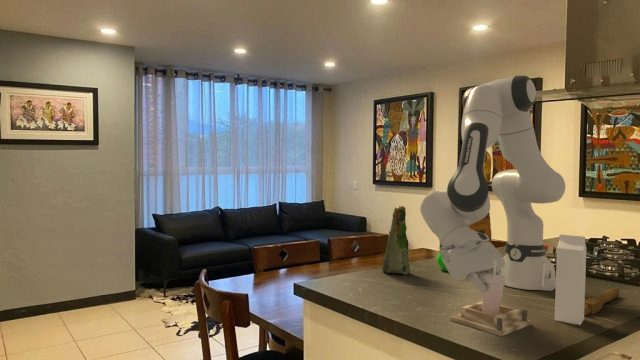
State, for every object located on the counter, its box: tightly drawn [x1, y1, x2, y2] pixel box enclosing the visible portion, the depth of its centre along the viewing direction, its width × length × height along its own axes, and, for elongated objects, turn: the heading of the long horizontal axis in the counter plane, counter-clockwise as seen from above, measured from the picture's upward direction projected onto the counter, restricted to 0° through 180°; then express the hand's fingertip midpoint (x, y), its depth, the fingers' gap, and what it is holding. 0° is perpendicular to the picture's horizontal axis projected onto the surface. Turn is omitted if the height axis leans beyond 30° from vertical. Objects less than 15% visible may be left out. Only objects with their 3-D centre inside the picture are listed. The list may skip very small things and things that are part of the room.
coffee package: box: [469, 212, 493, 245], centre depth 191 cm, size 10×12×22 cm
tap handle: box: [584, 287, 620, 316], centre depth 136 cm, size 3×3×30 cm
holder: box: [449, 300, 532, 337], centre depth 118 cm, size 14×14×4 cm
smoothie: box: [478, 259, 506, 316], centre depth 118 cm, size 6×6×14 cm
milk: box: [554, 234, 587, 326], centre depth 121 cm, size 6×6×22 cm
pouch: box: [381, 205, 411, 276], centre depth 173 cm, size 11×12×25 cm
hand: (493, 288), depth 117 cm, fingers closed on smoothie, 6 cm apart
